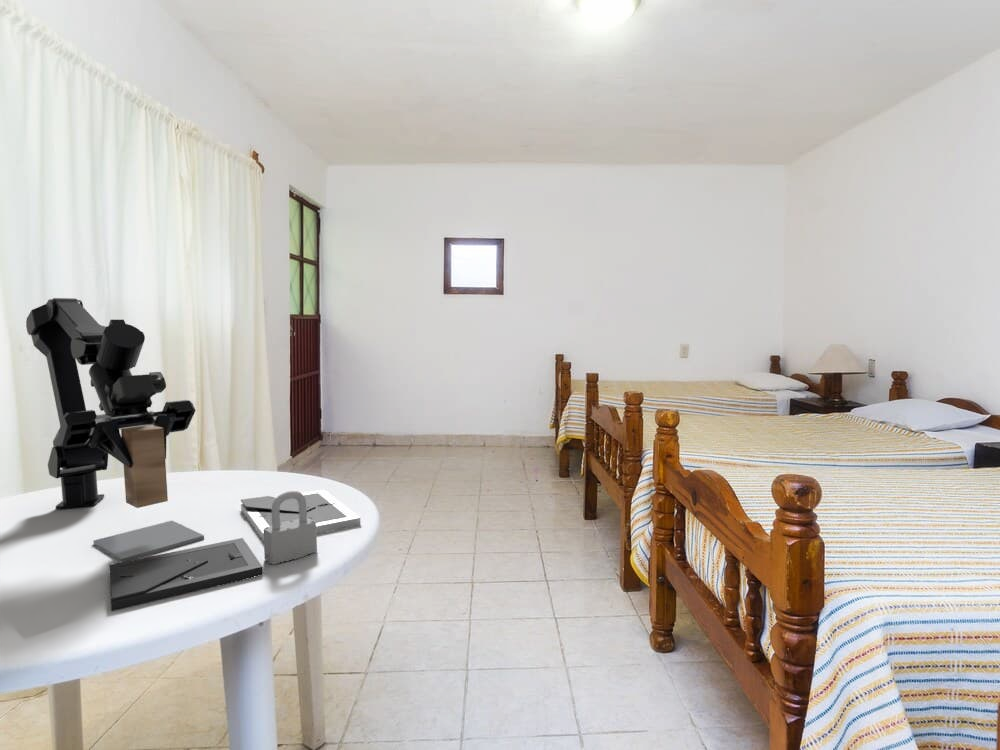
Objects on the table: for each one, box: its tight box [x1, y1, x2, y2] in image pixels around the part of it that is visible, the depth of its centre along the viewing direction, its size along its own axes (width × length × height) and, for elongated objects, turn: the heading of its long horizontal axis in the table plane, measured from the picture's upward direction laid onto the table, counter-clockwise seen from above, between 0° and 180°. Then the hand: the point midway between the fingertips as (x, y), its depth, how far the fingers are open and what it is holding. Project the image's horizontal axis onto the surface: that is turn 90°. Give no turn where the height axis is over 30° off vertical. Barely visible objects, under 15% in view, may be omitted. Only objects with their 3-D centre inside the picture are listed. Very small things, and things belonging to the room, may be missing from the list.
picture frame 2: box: [240, 489, 361, 541], centre depth 107 cm, size 16×3×21 cm
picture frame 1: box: [108, 537, 264, 612], centre depth 83 cm, size 13×2×18 cm
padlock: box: [263, 490, 318, 565], centre depth 89 cm, size 7×4×10 cm, turn 134°
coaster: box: [92, 520, 205, 563], centre depth 96 cm, size 12×12×1 cm
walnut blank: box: [120, 425, 169, 509], centre depth 95 cm, size 4×4×12 cm
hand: (147, 462), depth 94 cm, fingers closed on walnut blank, 4 cm apart
